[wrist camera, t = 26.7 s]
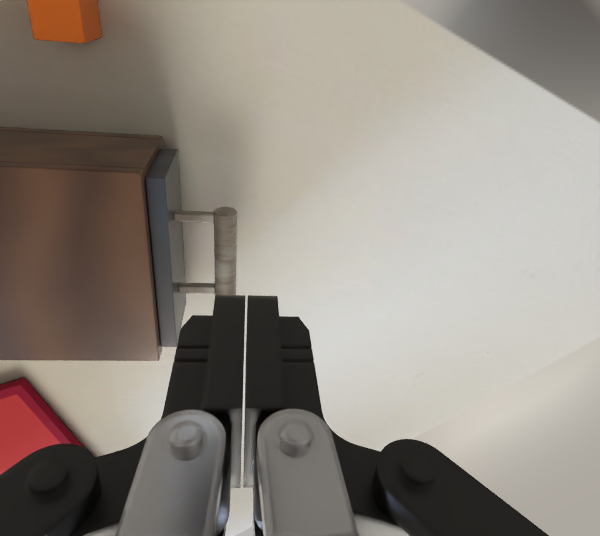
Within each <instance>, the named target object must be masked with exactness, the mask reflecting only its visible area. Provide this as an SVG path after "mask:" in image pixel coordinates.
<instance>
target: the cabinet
mask: <svg viewBox="0 0 600 536" xmlns="http://www.w3.org/2000/svg"><path fill="white" fill-rule="evenodd" d="M161 148H163V140H162V136H147V135H130V134H113V133H95V132H78V131H61V130H43V129H26V128H9V127H0V360H116V361H158V360H159V359H160V355H161V351H162V347H161V343H160V332H159V322H158V311H157V300H156V289H155V279H154V268H153V257H152V247H151V236H150V225H149V214H148V204H147V193H146V182H145V177H146V175H147V173H148V171H149V170H150V168H151V166H152V164H153V162H154V160H155V159H156V157H157V155H158V153H159V151H160V150H161Z"/></svg>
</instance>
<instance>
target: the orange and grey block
mask: <svg viewBox="0 0 600 536" xmlns="http://www.w3.org/2000/svg"><path fill="white" fill-rule="evenodd" d="M27 5H28V10H29V15H30V20H31V25H32V31H33V36H34V39H35V40H47V41H60V42H73V43H87V42H89V41H92V40H95V39H98V38H101V37H102V33H101V25H100V17H99V9H98V1H97V0H27Z"/></svg>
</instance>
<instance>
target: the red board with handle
mask: <svg viewBox="0 0 600 536" xmlns="http://www.w3.org/2000/svg"><path fill="white" fill-rule="evenodd" d="M63 443H64V444H75V445H79V446H82V445H81V443H80V442H79V441H78V440H77V439H76V438H75V436H74V435H73V434H72V433H71V432H70V431H69V429H68V428H67V427H66V426H65V425H64V424H63V422H62V421H61V420H60V419H59V418H58V417H57V415H56V414H55V413H54V412H53V411H52V409H51V408H50V407H49V406H48V405H47V404H46V402H45V401H44V400H43V399H42V398H41V397H40V395H39V394H38V393H37V392H36V391H35V390H34V388H33V387H32V386H31V385H30V384H29V382H28V381H27V380H26V379H25V378H21V379H18V380H14V381H11V382H8V383H5V384H1V385H0V475H1V474H2V473H3V472H5V471H6V470H8V469H9V468H11V467H12V466H13V465H15V464H16V463H18V462H19V461H20V460H22V459H23V458H25V457H26V456H28V455H29V454H31V453H33V452H35V451H37V450H39V449H41V448H44V447H47V446H51V445H55V444H63ZM82 447H83V446H82Z"/></svg>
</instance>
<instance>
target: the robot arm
mask: <svg viewBox="0 0 600 536" xmlns="http://www.w3.org/2000/svg"><path fill="white" fill-rule="evenodd" d="M244 324H245V296H239V295H215V302H214V310H213V316H197V315H192V317H191V318H190V319H189V320H188V321H187V322H186V324H185V325H184V326H183V327H182V328H181V330H180V334H179V339H178V344H177V349H176V354H175V358H174V363H173V368H172V373H171V377H170V382H169V387H168V392H167V397H166V401H165V406H164V411H163V415H162V418H161V420H160V421H159V422H157V423H156V425H155V426H154V427H153V428H152V429H151V431H150V432H149V435H148V436H147V437H146V438H145V439H144V440H142V441H141V442H139V443H137V444H135V445H133V446H131V447H129V448H126V449H123V450H120V451H117V452H114V453H110V454H107V455H103V456H100V457H96V458H94V457H93V455H92V454H91V453H90V452H89V451H88V450H87V449H85V448H84V447H82V446H79V445H75V444H64V443H63V444H55V445H51V446H47V447H44V448H41V449H39V450H37V451H35V452H33V453H31V454H29V455H28V456H26V457H25V458H23V459H22V460H20V461H19V462H18V463H16V464H15V465H13V466H12V467H11V468H9V469H8V470H6V471H5V472H3V473H2V474H1V475H0V536H225V531H226V523H227V520H228V517H229V507H230V488H240V477H241V440H242V403H243V364H244ZM244 487H253V536H549V535H547V534H546V533H545V532H543V531H542V530H541V529H539V528H538V527H537V526H536V525H534V524H533V523H532V522H530V521H529V520H528V519H527V518H525V517H524V516H523V515H521V514H520V513H519V512H518V511H516V510H515V509H514V508H512V507H511V506H510V505H509V504H507V503H506V502H505V501H503V500H502V499H501V498H499V497H498V496H497V495H495V494H494V493H493V492H491V491H490V490H489V489H488V488H486V487H485V486H484V485H483V484H481V483H480V482H479V481H477V480H476V479H475V478H474V477H472V476H471V475H469V474H468V473H467V472H466V471H464V470H463V469H462V468H461V467H459V466H458V465H456V464H455V463H454V462H453V461H451V460H450V459H449V458H448V457H446V456H445V455H444V454H442V453H441V452H440V451H438V450H437V449H436V448H434V447H432V446H431V445H429V444H427V443H424V442H421V441H417V440H412V439H401V440H397V441H394V442H391V443H390V444H388V445H387V446H385V447H384V449H383V450H382V451H381V452H380V451H376V450H372V449H369V448H365V447H361V446H358V445H355V444H352V443H350V442H348V441H345V440H344V439H342V438H341V437H339V436H338V435H337V434H335V433H334V432H333V431H332V430H331V429H330V428H329V426H328V425H327V423H326V422H325V419H324V417H323V414H322V409H321V403H320V397H319V391H318V384H317V378H316V372H315V366H314V363H313V353H312V349H311V341H310V334H309V330H308V329H307V327H306V326H305V325H304V324H303V322H302V321H301V320H300V318H299V317H279V311H278V298H277V296H248V308H247V340H246V383H245V435H244ZM244 487H243V488H244Z"/></svg>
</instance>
